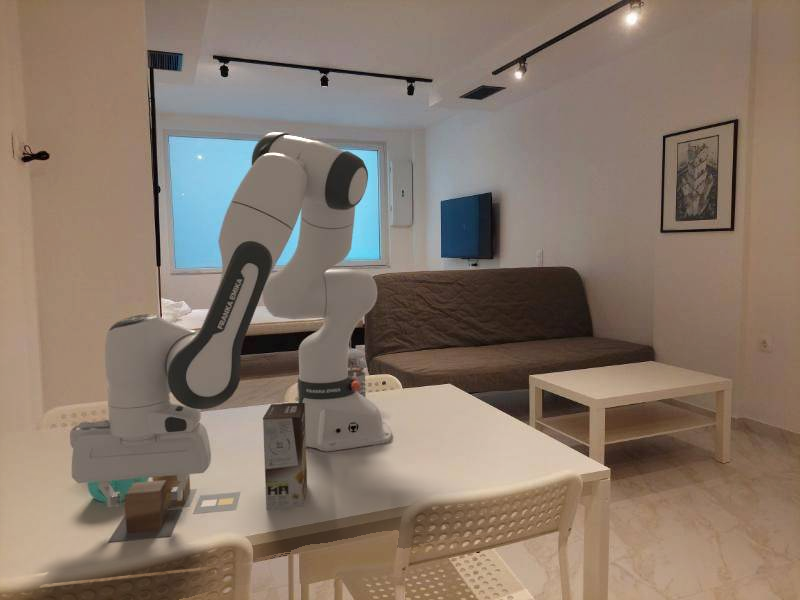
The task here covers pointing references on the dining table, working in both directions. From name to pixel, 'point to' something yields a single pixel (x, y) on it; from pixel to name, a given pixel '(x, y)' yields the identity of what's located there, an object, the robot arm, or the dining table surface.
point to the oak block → (172, 482)
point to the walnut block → (146, 506)
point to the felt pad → (165, 531)
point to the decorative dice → (117, 486)
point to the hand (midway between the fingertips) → (146, 502)
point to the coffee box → (285, 455)
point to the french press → (357, 368)
